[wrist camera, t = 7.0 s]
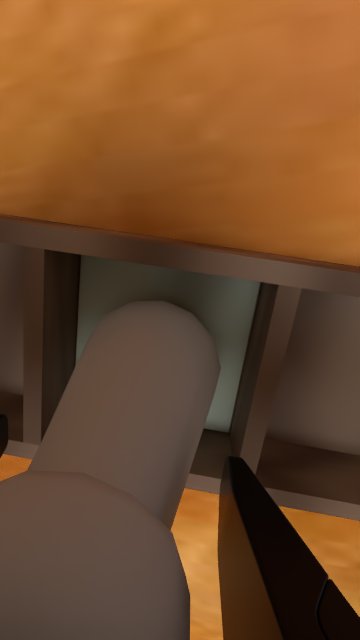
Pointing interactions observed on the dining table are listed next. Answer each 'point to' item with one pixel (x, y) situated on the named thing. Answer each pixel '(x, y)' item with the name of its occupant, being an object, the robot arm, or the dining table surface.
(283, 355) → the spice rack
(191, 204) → the dining table surface
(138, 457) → the salt shaker
